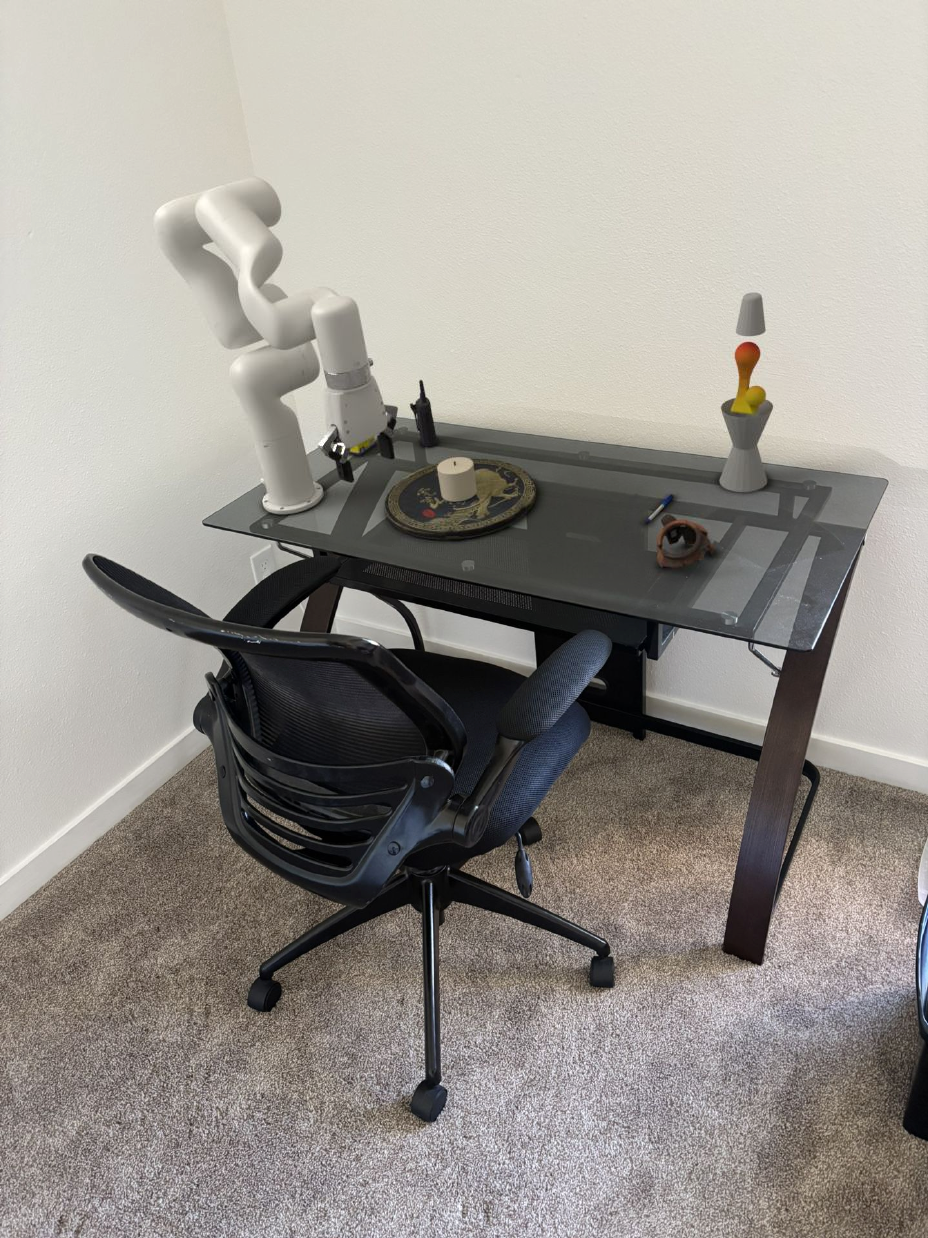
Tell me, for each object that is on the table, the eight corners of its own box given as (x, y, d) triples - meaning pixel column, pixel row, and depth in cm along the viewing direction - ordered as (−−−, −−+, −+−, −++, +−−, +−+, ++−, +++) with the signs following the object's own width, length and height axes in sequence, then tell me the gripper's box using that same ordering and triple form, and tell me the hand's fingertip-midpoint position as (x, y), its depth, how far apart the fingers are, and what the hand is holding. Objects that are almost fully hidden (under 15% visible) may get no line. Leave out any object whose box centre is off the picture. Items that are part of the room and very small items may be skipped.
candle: (434, 495, 185) (429, 464, 181) (458, 480, 188) (454, 450, 184) (459, 505, 180) (454, 473, 176) (484, 489, 184) (480, 458, 180)
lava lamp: (711, 487, 177) (716, 301, 157) (728, 466, 183) (735, 284, 162) (758, 495, 172) (770, 305, 152) (775, 473, 178) (788, 287, 158)
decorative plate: (413, 549, 169) (364, 483, 192) (414, 558, 170) (366, 491, 193) (562, 503, 176) (498, 444, 199) (563, 511, 177) (499, 452, 201)
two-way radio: (438, 446, 207) (428, 381, 198) (418, 450, 206) (407, 385, 198) (434, 436, 211) (424, 372, 202) (415, 440, 211) (404, 376, 202)
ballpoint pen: (669, 496, 176) (669, 492, 176) (673, 497, 176) (673, 492, 175) (645, 523, 170) (645, 519, 169) (649, 524, 169) (649, 520, 169)
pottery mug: (728, 561, 157) (718, 537, 151) (682, 595, 158) (669, 573, 152) (687, 517, 164) (676, 492, 158) (643, 550, 166) (630, 526, 159)
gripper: (371, 353, 162) (389, 444, 172) (293, 390, 152) (316, 484, 162) (401, 360, 157) (417, 453, 167) (322, 399, 148) (344, 495, 158)
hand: (367, 468), depth 165 cm, fingers open, 9 cm apart
